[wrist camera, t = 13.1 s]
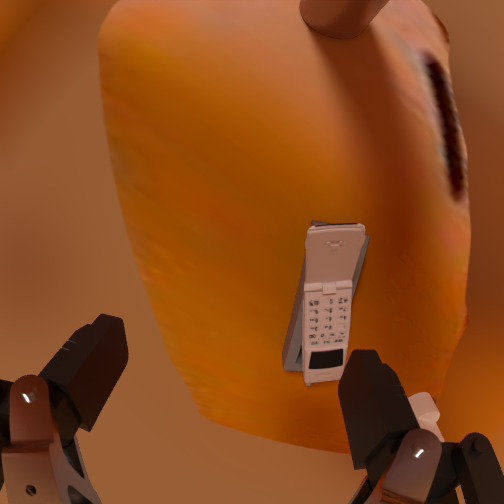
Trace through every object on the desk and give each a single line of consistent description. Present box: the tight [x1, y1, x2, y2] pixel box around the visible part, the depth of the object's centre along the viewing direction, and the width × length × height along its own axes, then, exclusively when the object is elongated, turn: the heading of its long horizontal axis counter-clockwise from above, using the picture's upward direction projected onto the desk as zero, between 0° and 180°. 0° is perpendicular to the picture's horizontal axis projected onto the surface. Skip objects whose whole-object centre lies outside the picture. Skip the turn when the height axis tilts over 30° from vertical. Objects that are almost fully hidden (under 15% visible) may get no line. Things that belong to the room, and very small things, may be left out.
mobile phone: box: [302, 223, 366, 386], centre depth 31 cm, size 6×6×25 cm
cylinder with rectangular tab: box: [408, 392, 445, 442], centre depth 40 cm, size 9×9×12 cm
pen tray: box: [282, 220, 370, 372], centre depth 36 cm, size 21×6×4 cm, turn 172°
